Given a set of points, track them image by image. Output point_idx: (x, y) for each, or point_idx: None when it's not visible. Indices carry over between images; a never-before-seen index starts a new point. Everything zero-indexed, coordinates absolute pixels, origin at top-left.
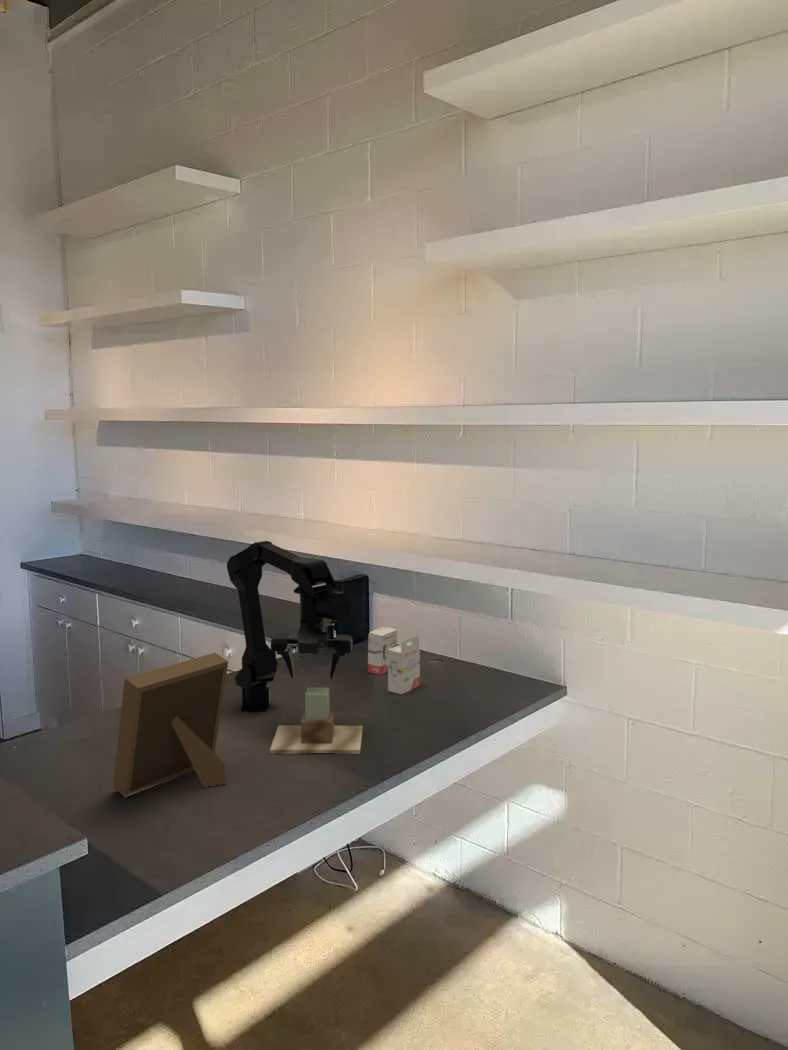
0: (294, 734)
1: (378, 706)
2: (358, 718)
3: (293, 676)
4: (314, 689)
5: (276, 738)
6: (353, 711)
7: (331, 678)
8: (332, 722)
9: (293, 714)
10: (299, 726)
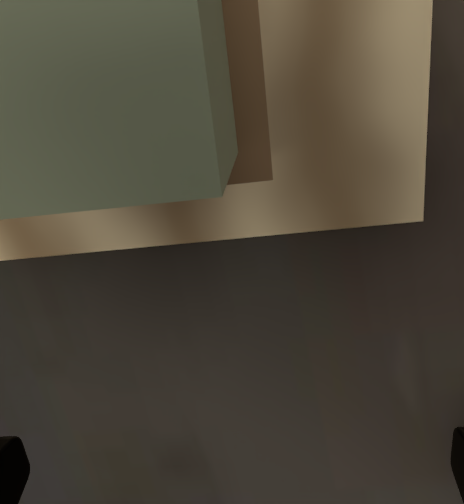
0: (315, 103)
1: (34, 480)
2: (72, 369)
3: (453, 460)
4: (109, 128)
5: (415, 25)
6: (114, 432)
7: (3, 438)
8: None
9: (365, 389)
10: (307, 218)
